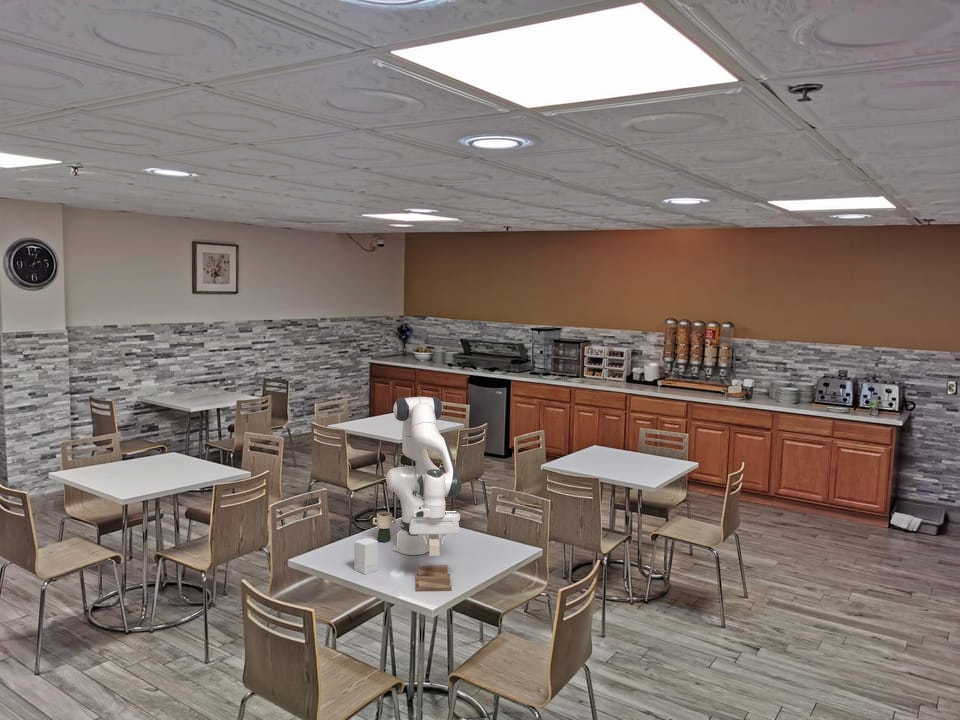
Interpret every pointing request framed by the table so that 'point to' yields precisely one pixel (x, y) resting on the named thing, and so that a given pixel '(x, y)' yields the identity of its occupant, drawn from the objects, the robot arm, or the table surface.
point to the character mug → (384, 525)
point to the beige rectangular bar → (434, 545)
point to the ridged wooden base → (433, 578)
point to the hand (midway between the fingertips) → (434, 544)
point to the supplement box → (366, 555)
